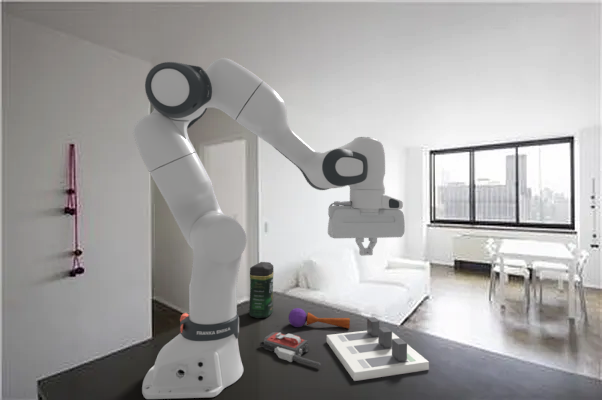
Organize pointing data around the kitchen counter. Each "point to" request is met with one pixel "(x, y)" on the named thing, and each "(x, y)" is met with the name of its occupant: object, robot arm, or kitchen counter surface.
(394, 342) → the block
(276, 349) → the walkie-talkie
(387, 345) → the block
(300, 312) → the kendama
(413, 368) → the breaker panel
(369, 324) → the breaker left
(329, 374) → the kitchen counter surface
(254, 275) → the coffee jar
